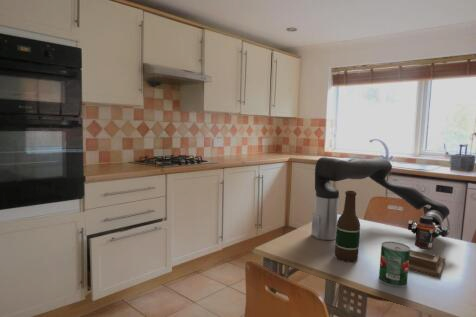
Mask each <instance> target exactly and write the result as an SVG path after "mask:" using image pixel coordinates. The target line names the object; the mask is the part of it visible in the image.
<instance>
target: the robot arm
mask: <svg viewBox="0 0 476 317" xmlns="http://www.w3.org/2000/svg"><path fill="white" fill-rule="evenodd" d="M392 168H393V165H392V163H391V162H390V161H389V160H387V159H385V158H382V157H374V158H366V159H365V158H352V159H349V160H344V159H343V160H342V159H339V158H334V157H333V158H332V157H322V156H321V157H319V158H318V159H317V160H316V163H315V168H314V191H315V202H314V205H315V206H314V212H312V219H311V235H312V236H313V237H314V238H315V239H317V240H323V241H332V240H336V230H337V221H338V215H339V213H338V212H339V199H340V191H339V189H337V188H335V187H334V186H333V185H332V184H331V183H330V182H340V181H344V180H349V179H350V180H364V179H367V178H369V179H371V180H372V181H373V182H375V183H376V184H377V185H378V184H379V185H380V186H382V187H383V188H385V189H387V190H388V191H389V192H391V193H393V194H395V195H396V196H398V197H400V198H401V199H402V200H403V201H405V202H406V203H407V204H409V205H410V206H411V207H412V208H414V209H416V210H421V209H423V208H424V207H426V206H429V209H428V210H427V211H426V212H425V213H424V214H423V215H422V216H428V217H431V218H433V224H434V225H435V231H434V235H433V238H434V239H436V238H439V237H440V236H441V237H442V238H446V237H447V236H448V235H450V227H449V226H443V222H444V220H445V219H446V218H447V217H448V216H449V215H450V213H451V212H450V209H449V208H448V206H446V205H445V204H443V203H440V202H438V201H436V200H434V199H431V198H429V197H427V196H426V195H424V194H423V193H422V192H420V191H419V190H417V188H414V187H413V186H410V185H406V184H398V183H393V182H390V181H389V180H387V179H386V178H387V176H388V175H389V174H390V173H391V171H392V170H393V169H392ZM419 221H420V219H419V220H418V221H416V222H414V221H413V220H412V219H408V225H407V230H408V231H411V233H412V234H413V235H416V225H417V222H419Z"/></svg>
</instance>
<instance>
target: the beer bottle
mask: <svg viewBox="0 0 476 317" xmlns="http://www.w3.org/2000/svg"><path fill="white" fill-rule="evenodd" d="M344 194H345V200H344V207H343V212H342V214H340V216H339V217H338V218H337V229H336V238H335V247H334V256H335V258H336V259H337V260H339V261H342V262H345V263H355V262H356V261H357V260H358V259H359V249H360V248H359V247H360V237H361V236H360V235H361V224H360V223H361V222H360V220H359V217H358V216H357V214H356V197H357V192H356V191H354V190H346V191H345V192H344Z"/></svg>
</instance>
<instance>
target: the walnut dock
mask: <svg viewBox="0 0 476 317" xmlns="http://www.w3.org/2000/svg"><path fill="white" fill-rule="evenodd" d="M445 263H446V257H441V253H440V252H437V251H436V253H435V254H433V255H432V254H429V253H424V252H420V251H416V250H412V249H410V256H409V266H408V271H412V272H414V273H415V272H416V273H419V274H423V275H427V276H430V277H435V278H438V279H440V277H441V273H442V270H443V268H444V265H445Z"/></svg>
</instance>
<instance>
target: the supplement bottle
mask: <svg viewBox="0 0 476 317" xmlns="http://www.w3.org/2000/svg"><path fill="white" fill-rule="evenodd" d="M419 220H420V221H419ZM419 220H418V221H416V222H417V225H416V233H415V237H414V238H415V239H414V246H415V247H416V248H418V249H421V250H427V251H429V250H433V249H434V242H435V238H433V235H434V231H435V225H434V224H433V218H431V217H428V216H423V215H422V216H420V217H419Z"/></svg>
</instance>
